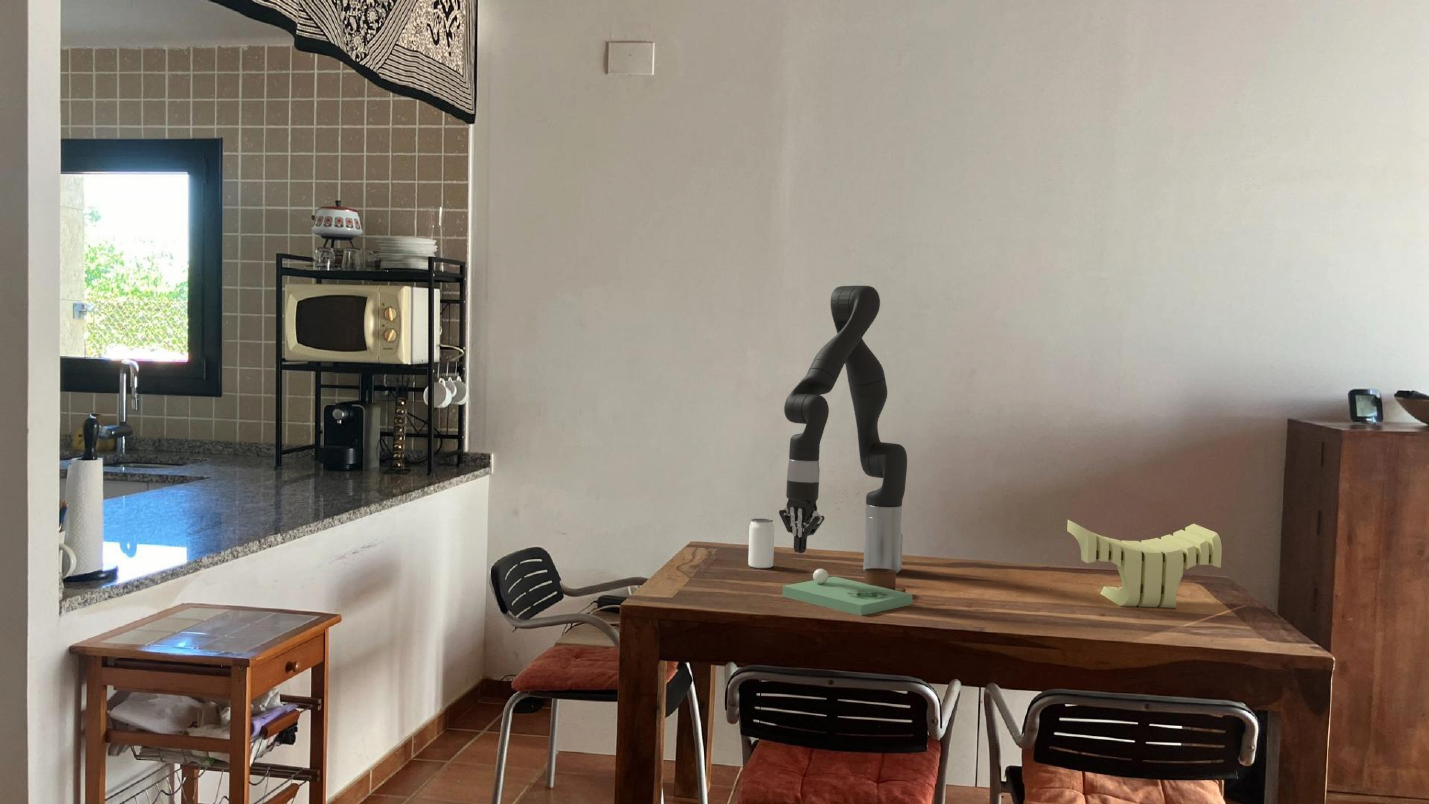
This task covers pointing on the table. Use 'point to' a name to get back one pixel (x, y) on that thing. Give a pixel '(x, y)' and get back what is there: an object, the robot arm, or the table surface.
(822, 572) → the ball
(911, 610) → the table surface
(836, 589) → the green
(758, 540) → the can
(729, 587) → the table surface
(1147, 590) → the slatted curved stool
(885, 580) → the brown cylindrical stub
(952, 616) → the table surface
